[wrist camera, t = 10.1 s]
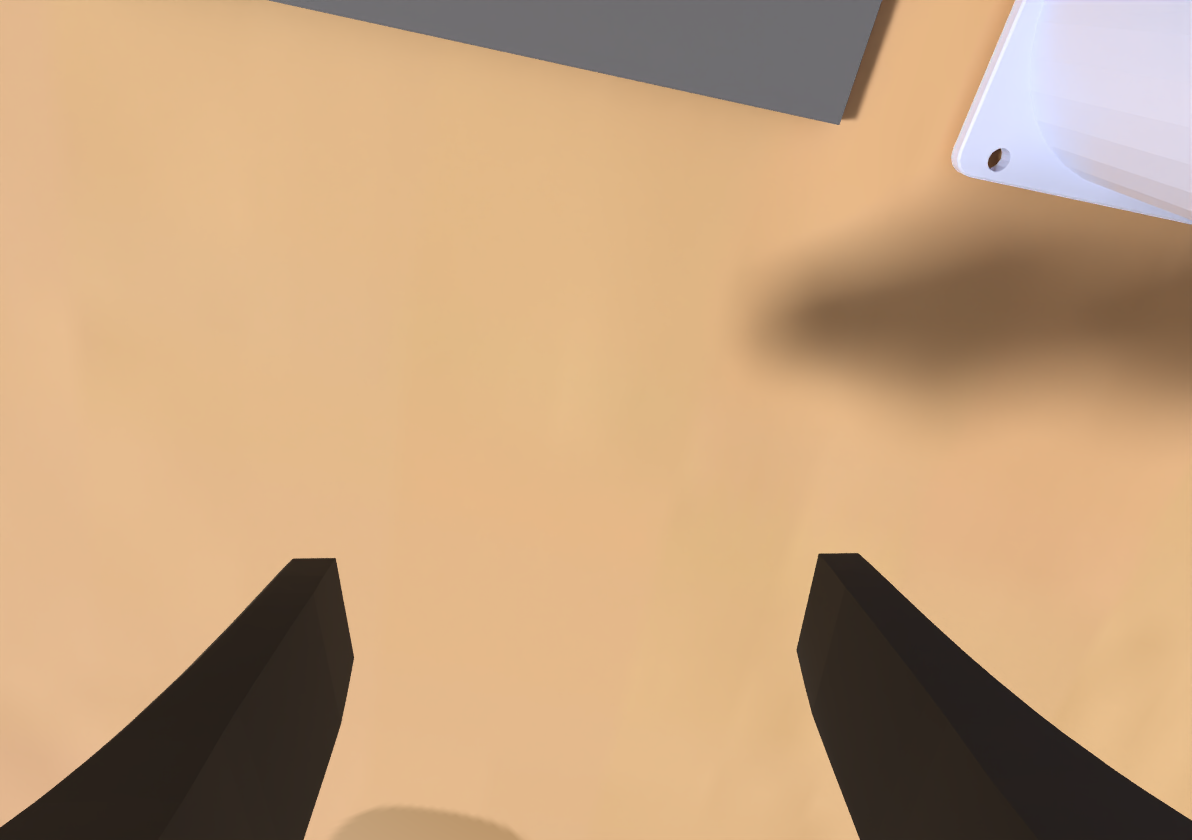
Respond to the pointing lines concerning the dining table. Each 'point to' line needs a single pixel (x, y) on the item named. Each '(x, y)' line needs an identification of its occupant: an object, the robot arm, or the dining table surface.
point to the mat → (662, 41)
